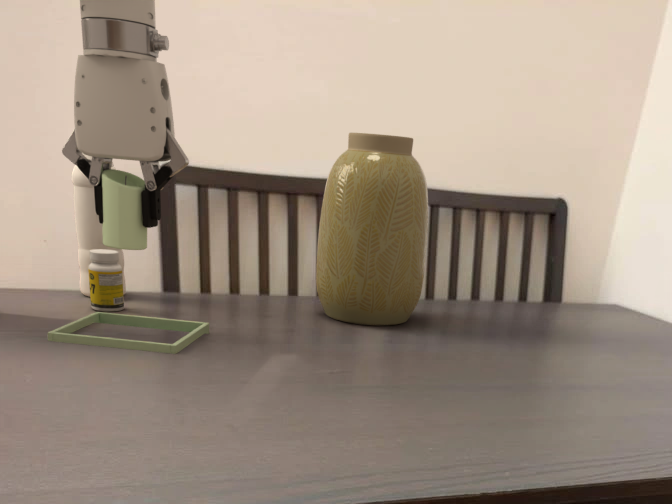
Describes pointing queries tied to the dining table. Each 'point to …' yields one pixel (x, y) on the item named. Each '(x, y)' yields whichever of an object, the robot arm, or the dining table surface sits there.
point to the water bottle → (88, 227)
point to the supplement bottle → (105, 281)
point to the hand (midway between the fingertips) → (129, 223)
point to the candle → (123, 210)
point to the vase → (373, 232)
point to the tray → (130, 320)
